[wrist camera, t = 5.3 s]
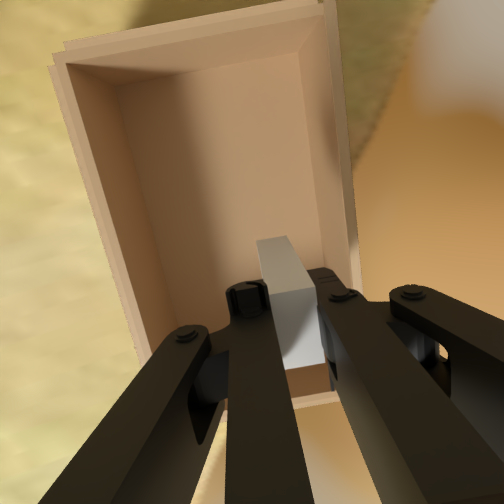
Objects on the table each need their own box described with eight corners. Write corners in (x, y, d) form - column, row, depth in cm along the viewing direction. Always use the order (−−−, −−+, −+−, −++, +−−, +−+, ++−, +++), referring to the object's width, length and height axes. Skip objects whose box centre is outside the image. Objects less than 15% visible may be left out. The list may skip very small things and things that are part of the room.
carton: (100, 76, 25) (41, 45, 17) (301, 38, 25) (331, -9, 17) (179, 364, 32) (161, 433, 24) (337, 335, 32) (370, 395, 24)
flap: (323, 10, 17) (319, -39, 12) (332, 8, 17) (332, -42, 12) (363, 391, 24) (370, 463, 18) (369, 391, 23) (379, 464, 18)
